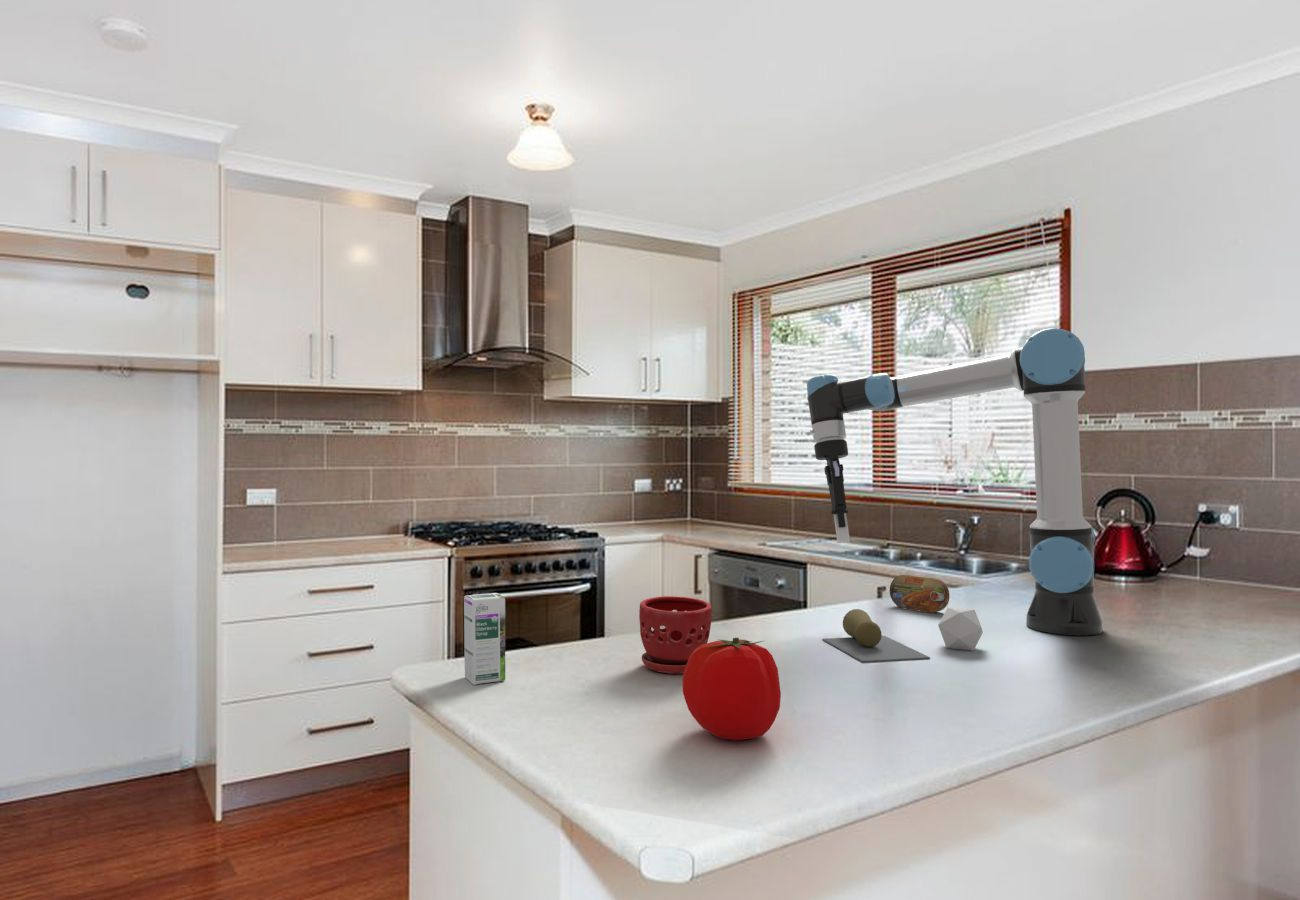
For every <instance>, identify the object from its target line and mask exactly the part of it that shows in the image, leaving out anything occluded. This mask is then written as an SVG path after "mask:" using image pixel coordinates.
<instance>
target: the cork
mask: <svg viewBox="0 0 1300 900" xmlns="http://www.w3.org/2000/svg"><path fill="white" fill-rule="evenodd" d="M842 628H843V630H844V632H845V633H846V634H847V635H848V636H850V637H854V638H856V640H857V641H858V642H859V644H861V645H862V646H864V647H873V646H876V645H877V644H878V643H879V642H880V640H881V637H882V636H883V635H882V629H881V627H880V625H878V623H876V622H874V621H873V620H872V618H871V617H870V615H869V614H868V613H867V612H866V611H865V610H863V609H860V608H857V609H856V608H854V609H851V610H849V611H847V613H846V614H844V616H843V620H842Z"/></svg>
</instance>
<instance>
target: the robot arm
mask: <svg viewBox="0 0 1300 900" xmlns="http://www.w3.org/2000/svg"><path fill="white" fill-rule="evenodd" d="M1085 352H1086V351H1085V347H1084V344H1083V343H1082V341H1081V340H1080V338H1079V337H1078V336H1077V335H1076V334H1074V333H1073V332H1071V331H1070V330H1069V331H1068V330H1066V329H1062V328H1057V327H1055V328H1054V327H1053V328H1052V327H1051V328H1045V329H1041V330H1040V331H1037V332H1035V333H1033V334H1032V335H1031V336H1030V337H1029V338H1028V339H1027V340H1026V341H1025V342H1024V343H1023V346H1022V347H1019V348H1013V349H1012V350H1011V352H1010V353H1009V354H1007V355H1005V354H1004V355H1001V356H995V357H991V358H986V359H981V360H974V361H970V362H966V363H960V364H954V365H949V366H945V367H944V366H943V367H938V368H934V369H928V370H924V371H917V372H914V373H909V374H903V375H898V376H892V377H891V376H890V375H889V374H888V373H886V372H883V373H882V372H881V373H872V374H870V375H865V376H861V377H857V378H853V379H848V380H843V381H840V380H839V378H838V376H837V375H834V374H824V375H823V374H821V375H816V376H813V377H811V378H809V380H807V382H806V391H807V403H808V408H809V409H808V410H809V416H810V424H811V429H809V433H810V434H813V435H812V438H813V442H814V446H813V448H814V454H815V459H816V460H818V461H826V465H825V467H824V474H825V476H826V477H825V478H826V482H827V486H828V493H829V497H830V503H831V511H830V513H831V515H833V519H834V526H835V527H834V528H835V534H836V541H837V543H836V544H839V543H840V544H841V543H850V542H851V539H850V538H851V537H850V531H849V524H848V517H847V514H849V512H848V511H849V510H847V502H846V493H845V491H846V490H845V485H844V484H845V483H844V481H845V478H844V473H843V472H844V463H843V464H841V463H840V460H839V459H843V458H845V457H848V455H849V449H848V441H847V440H846V438H847V433H846V425H845V419H844V414H850V413H855V412H861V411H865V410H869V411H875V412H879V413H882V412H884V413H885V412H888V411H890V410H894V409H899V408H905V407H908V406H915V405H921V404H926V403H927V404H928V403H933V402H937V401H945V400H949V399H950V400H951V399H955V398H956V399H957V398H962V397H967V396H974V395H979V394H980V395H981V394H984V393H990V392H995V391H1002V390H1008V389H1014V388H1015V389H1017V390H1018V391H1020V392H1022V391H1023V398H1025V399H1026V400H1027V401H1028V402H1029V403H1031V409H1032V412H1031V413H1032V431H1033V432H1032V433H1033V435H1032V436H1033V452H1034V453H1033V456H1034V478H1035V479H1034V480H1035V497H1036V498H1035V501H1036V502H1035V503H1036V504H1035V505H1036V519H1035V520H1034V521H1033V522H1032V523H1030V525H1029V542H1030V543H1029V544H1030V553H1029V558H1028V568H1029V571H1030V574H1031V576H1032V577H1033V579H1034V581H1035V585H1034V586H1035V587H1034V588H1035V590H1034V594H1033V597H1032V599H1031V603H1030V605H1029V608H1028V610H1027V613H1026V618H1025V620H1026V621H1025V622H1026V626H1027V627H1028V628H1029V629H1032V630H1036V631H1040V632H1043V633H1045V632H1046V633H1049V634H1057V635H1066V636H1094V635H1095V636H1096V635H1100V634H1102V633H1103V619H1102V617H1101V615H1100V611H1099V608H1098V605H1097V603H1096V600H1095V596H1094V595H1095V594H1094V593H1095V591H1094V586H1095V585H1094V583H1095V542H1096V536H1095V532H1094V529H1093V528H1092V527H1093V526H1092V525H1091V524H1090V522H1088V521H1087V520H1086V519H1085V517H1084V511H1083V510H1084V509H1083V508H1084V507H1083V490H1082V489H1083V488H1082V471H1081V470H1082V468H1081V466H1082V465H1081V449H1080V448H1081V447H1080V445H1081V444H1080V425H1079V424H1080V423H1079V404H1078V403H1079V400H1080V399H1081V398H1082V397H1083V396H1084V395H1085V394H1086V373H1085V372H1086V371H1085V370H1086V369H1085V364H1086V357H1085Z"/></svg>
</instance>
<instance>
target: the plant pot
mask: <svg viewBox="0 0 1300 900" xmlns="http://www.w3.org/2000/svg"><path fill="white" fill-rule="evenodd" d="M712 611H713V610H712V605H711V604H710V602H707V601H705V600H703V599H699V598H696V597H695V598H694V597H687V596H676V595H675V596H672V595H671V596H669V595H667V596H666V595H665V596H655V597H650V598H646V599H643V600H641V602H640V603H639V610H638V612H639V614H638V615H639V618H638V619H639V633H640V638H641V644H642V646H643V648H644V651H645V652H644V653H642V655H641V662H642V663H643V665H644V666H645V667H647V668H648V669H650V670H651V671H655V672H658V673H664V674H670V675H671V674H673V675H675V674H676V675H679V674H684V671H685V668H686V665H687V662H688V658H689V657H690V656H691V654H692V653H693V652H694V650H695V649H697V648H698V647H699V646H700V645H703V644H707V643H709V642H708V641H709V638H710V633H711V625H712ZM661 627H664V628H661ZM652 629H653V630H652Z"/></svg>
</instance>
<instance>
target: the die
mask: <svg viewBox="0 0 1300 900" xmlns="http://www.w3.org/2000/svg"><path fill="white" fill-rule="evenodd" d="M937 626H938V628H939V629H938V630H939V631H940V634H941V638H942V639H943V642H944V643H943V644H944V645H945V648H946V649H949V650H951V649H952V650H963V651H972V652H973V651H975V649H976V647H977V645H978V643H979V641H980V639H981V637H982V636H983V627H982V624H981V622H980V619H979V617H978V615H977V612H976V610H975V609H974V608H973V609H972V608H960V607H959V608H958V607H949V606H947V608H946V610H945V612H944V614H943V615H942V616H941V619H940V621H939V622H938V625H937Z"/></svg>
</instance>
